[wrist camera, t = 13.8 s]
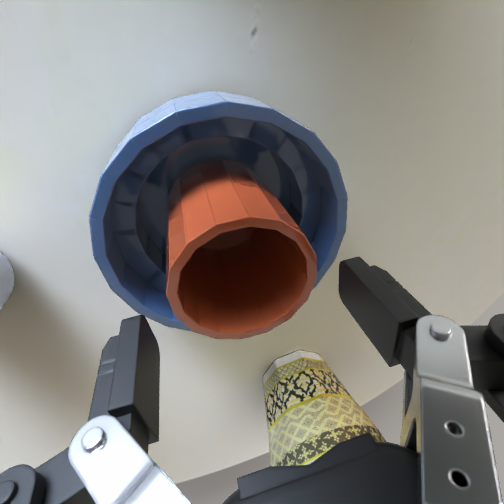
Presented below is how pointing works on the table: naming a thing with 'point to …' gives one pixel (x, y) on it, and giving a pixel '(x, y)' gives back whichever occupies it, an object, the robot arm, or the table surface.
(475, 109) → the table surface
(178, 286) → the cup
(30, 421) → the table surface
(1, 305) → the beverage can
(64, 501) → the robot arm
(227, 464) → the table surface
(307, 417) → the ceramic cup
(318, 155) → the bowl
